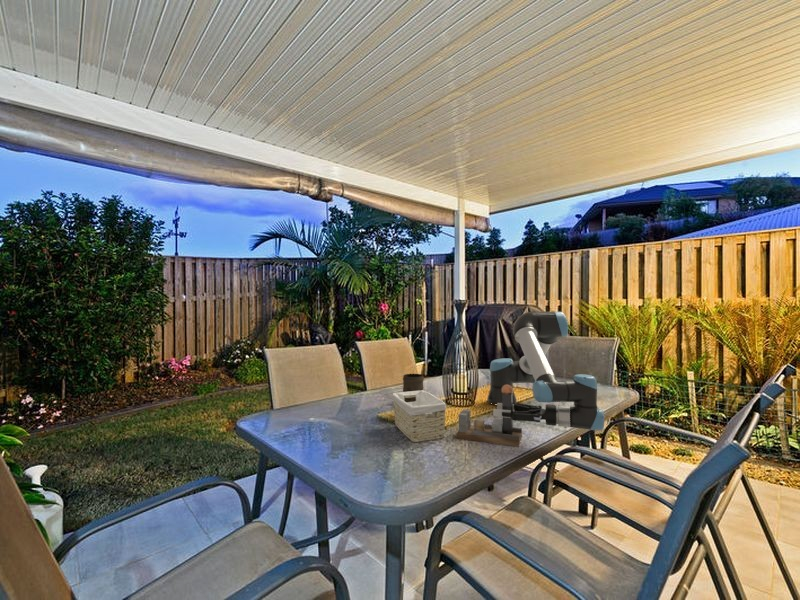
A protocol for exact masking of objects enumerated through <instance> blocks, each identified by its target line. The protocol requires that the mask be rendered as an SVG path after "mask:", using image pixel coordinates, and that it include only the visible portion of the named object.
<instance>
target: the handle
mask: <svg viewBox="0 0 800 600" xmlns="http://www.w3.org/2000/svg"><path fill="white" fill-rule="evenodd" d="M513 391H514V387H513V388H512V387H511V386H510V385H504V386H503V387H502V410H513ZM491 425H492V432H494V433H502V434H510V435H513V427H514V420H512V419H511V418H506V417H502V419H501V418H494V419H493V420H492V422H491Z"/></svg>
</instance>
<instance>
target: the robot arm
mask: <svg viewBox="0 0 800 600" xmlns="http://www.w3.org/2000/svg"><path fill="white" fill-rule="evenodd" d="M512 333H513V337H514V339H515V341H516V343H518V344H519V345H520V348H521V350H522V353H523V356H521V358H520V359H519V360H513V359H512V358H511V357H509V358H498V359H493V360H491V362H490V364H489V365H490V367H489V372H490V373H489V374H490V377H489V379H490V389H489V391H488V395H487V398H486V399H487V400H486V401H488V402H489V403H492V404H497V406H496V408H493V411H492V413H493V417H496V418H497V417H499V418H503V417H506V418H511V419H512V420H513V421H519V422H533V423H541V420H545V424H546V425H547V426H553V427H555V426H557V425H558V427H564V428H565V429H567V428H573V429H582V430H588V431H602V430H603V429H605V414H604V413H605V412H604V410H603V409H600V408H599V407H598V404H597V403H598V401H597V400H598V385H597V384H598V383H597V378H596V377H595V376H593V375H591V374H586V373H583V374H582V373H581V374H580V373H578V374H575V375H574V376H573V379H572V380H558V379H557V378H556V375H555V373H554V370H553V369H552V366H551V365H550V362H549V361H548V359H547V356H546V355H547V353H548V351H549V349H550V348H551V346H552V345H554V344H555V343H557V342H558V340H559V339H560V338H566V337H567V336H568V334H569V323H568V319H567V316H566V314H565V313H564V312H562V311H528V312H527V311H526V312H525V313H523V314H521V315H519V316H518V317H517V319H516V320H515V321H514V325H513V327H512ZM514 384H532V395H533V398H534V399H535V401H536V402H540V403H548V404H545V408H543V407H542V405H533V404H526V403H519V402H517V397H516V394H515V391H514V390H513V410H502V387H503V386H504V385H510V386H511V387H512V388H513V389H514V387H513V385H514ZM488 402H487V403H488ZM567 402H568V403H572V402H573V403H574V404H573V405H574V406H571V405H562V404H561V405H556V404H549V403H567ZM489 403H488V404H489ZM492 404H491V405H492Z"/></svg>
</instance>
